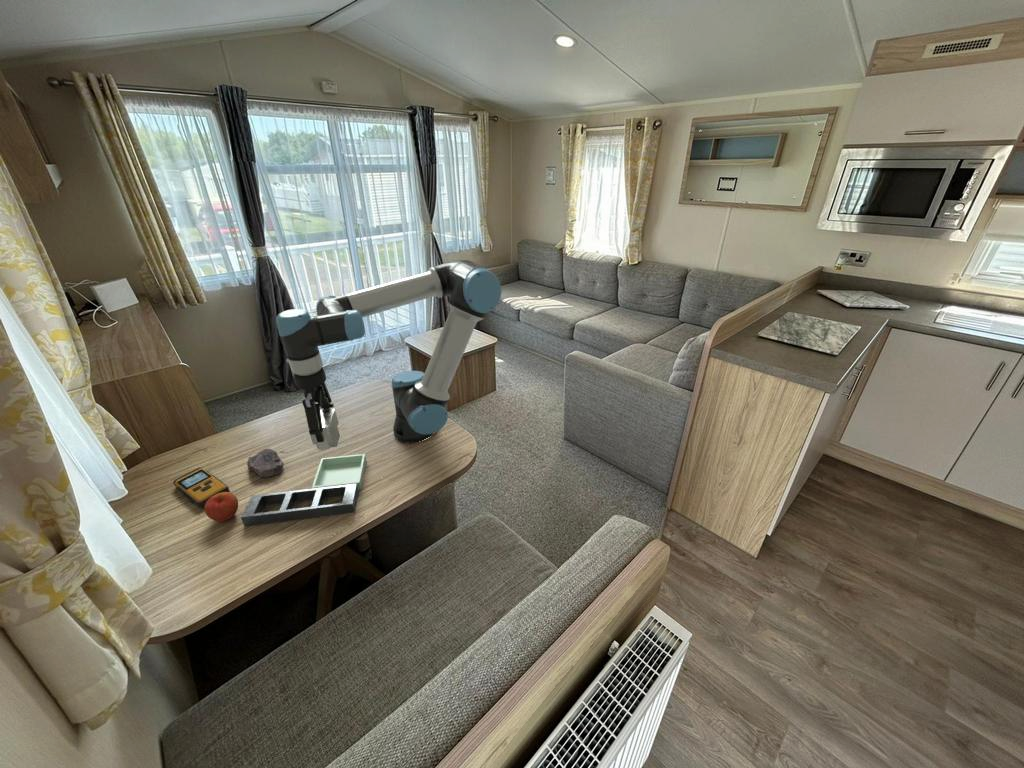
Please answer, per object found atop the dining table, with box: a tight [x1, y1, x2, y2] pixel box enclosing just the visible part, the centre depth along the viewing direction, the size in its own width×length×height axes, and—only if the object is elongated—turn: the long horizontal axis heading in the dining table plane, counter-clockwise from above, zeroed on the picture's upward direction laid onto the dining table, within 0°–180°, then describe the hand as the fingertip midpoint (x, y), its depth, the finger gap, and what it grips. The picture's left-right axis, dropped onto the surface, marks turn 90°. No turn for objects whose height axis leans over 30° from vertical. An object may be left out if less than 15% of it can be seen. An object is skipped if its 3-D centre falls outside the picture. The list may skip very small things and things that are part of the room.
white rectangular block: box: [308, 408, 341, 450], centre depth 113 cm, size 5×9×8 cm, turn 11°
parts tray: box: [311, 453, 367, 491], centre depth 123 cm, size 13×13×3 cm
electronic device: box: [173, 467, 231, 509], centre depth 117 cm, size 8×16×3 cm, turn 58°
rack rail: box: [240, 483, 360, 528], centre depth 111 cm, size 28×8×4 cm, turn 101°
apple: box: [203, 491, 239, 522], centre depth 107 cm, size 7×7×8 cm
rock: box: [246, 448, 285, 478], centre depth 125 cm, size 8×11×5 cm
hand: (327, 438), depth 115 cm, fingers closed on white rectangular block, 9 cm apart
